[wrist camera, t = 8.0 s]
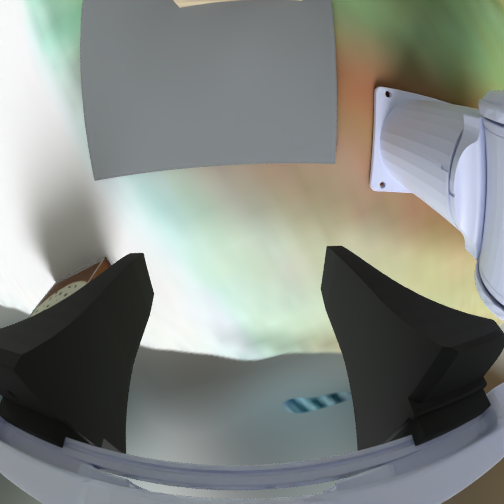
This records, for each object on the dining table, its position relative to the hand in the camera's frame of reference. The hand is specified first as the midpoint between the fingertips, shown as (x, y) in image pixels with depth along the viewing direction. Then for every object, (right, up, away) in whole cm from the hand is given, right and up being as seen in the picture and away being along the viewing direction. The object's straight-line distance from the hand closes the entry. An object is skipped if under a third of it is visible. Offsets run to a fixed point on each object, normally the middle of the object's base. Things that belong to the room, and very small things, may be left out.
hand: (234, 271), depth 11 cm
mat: (-3, +17, +2) cm, 18 cm away
